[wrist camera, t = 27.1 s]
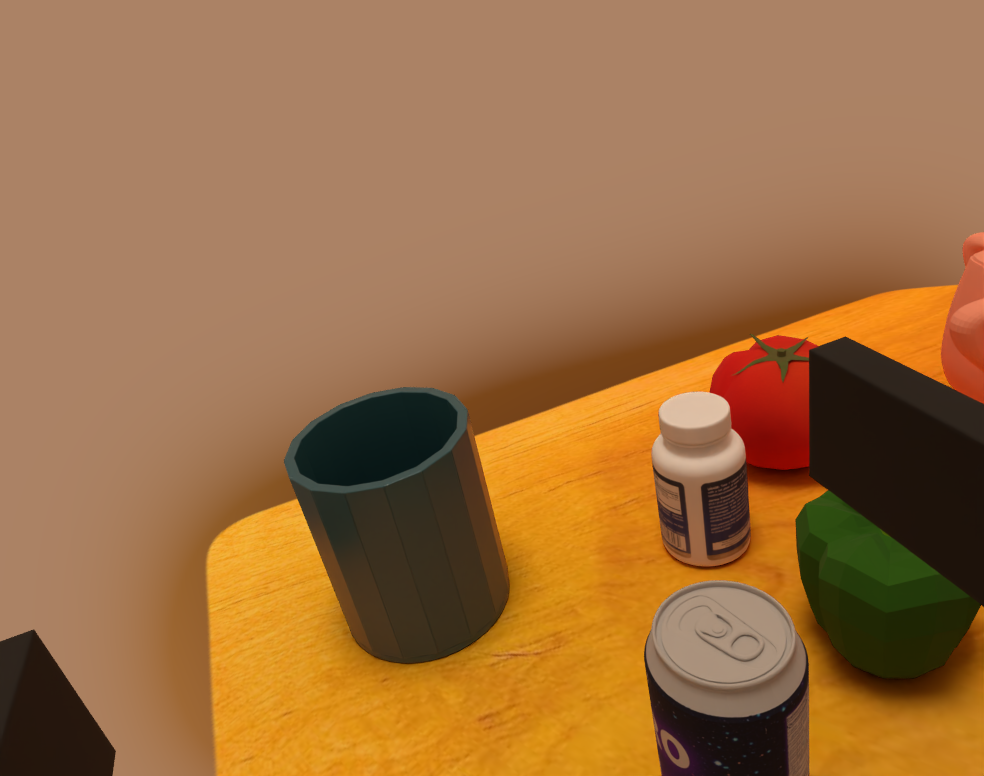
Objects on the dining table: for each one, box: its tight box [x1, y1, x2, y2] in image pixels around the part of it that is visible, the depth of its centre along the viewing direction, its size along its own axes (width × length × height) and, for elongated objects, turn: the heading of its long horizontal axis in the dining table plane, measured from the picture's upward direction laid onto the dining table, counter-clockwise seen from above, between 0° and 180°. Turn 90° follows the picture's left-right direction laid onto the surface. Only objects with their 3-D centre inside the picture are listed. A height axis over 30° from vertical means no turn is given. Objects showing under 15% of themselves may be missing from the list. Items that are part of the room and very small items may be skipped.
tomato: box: [710, 334, 818, 470], centre depth 53 cm, size 9×10×8 cm
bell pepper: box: [796, 490, 981, 678], centre depth 37 cm, size 8×8×10 cm
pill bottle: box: [652, 392, 751, 566], centre depth 46 cm, size 5×5×10 cm
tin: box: [284, 387, 509, 663], centre depth 46 cm, size 10×10×12 cm
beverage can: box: [644, 581, 809, 776], centre depth 30 cm, size 6×6×12 cm
